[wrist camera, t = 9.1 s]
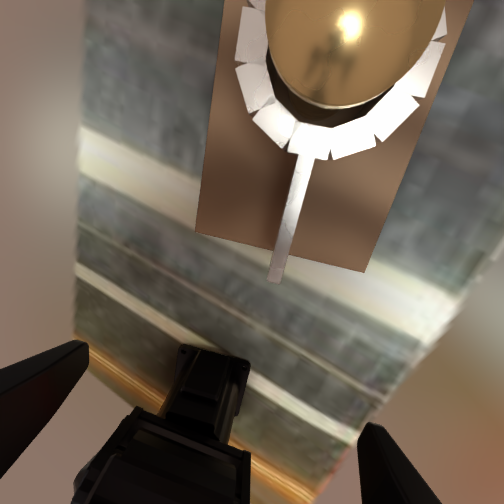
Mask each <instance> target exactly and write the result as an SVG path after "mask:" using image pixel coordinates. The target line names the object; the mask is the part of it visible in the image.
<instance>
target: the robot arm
mask: <svg viewBox="0 0 504 504" xmlns="http://www.w3.org/2000/svg"><path fill="white" fill-rule="evenodd" d="M184 350H185V351H184ZM88 365H89V345H88V343H86V342H83V341H80V340H72V341H70V342H67V343H65V344H62V345H60V346H57V347H55V348H52V349H50V350H47V351H45V352H42V353H40V354H37V355H35V356H32V357H30V358H27V359H25V360H22V361H20V362H17V363H15V364H12V365H10V366H7V367H5V368H2V369H0V479H1V478H2V477H3V475H4V474H5V473H6V472H7V470H8V469H9V468H10V467H11V466H12V465H13V463H14V462H15V461H16V460H17V459H18V458H19V456H20V455H21V454H22V453H23V452H24V450H25V449H26V448H27V447H28V446H29V444H30V443H31V442H32V441H33V440H34V439H35V437H36V436H37V435H38V434H39V432H40V431H41V430H42V429H43V428H44V427H45V425H46V424H47V423H48V422H49V421H50V419H51V418H52V417H53V416H54V414H55V413H56V412H57V410H58V409H59V407H60V406H61V405H62V403H63V402H64V400H65V399H66V398H67V396H68V395H69V393H70V392H71V390H72V389H73V388H74V386H75V385H76V383H77V382H78V381H79V379H80V378H81V376H82V375H83V373H84V372H85V371H86V369H87V367H88ZM243 366H245V367H246V368H245V367H243ZM250 367H251V365H250V363H249V362H248V361H245V360H241V359H237V358H234V357H230V356H226V355H223V354H219V353H215V352H212V351H208V350H204V349H201V348H197V347H193V346H190V345H186V344H183V345H181V346H180V348H179V349H178V355H177V363H176V371H175V379H174V384H173V386H172V388H171V390H170V392H169V394H168V395H167V397H166V399H165V401H164V403H163V405H162V407H161V409H160V411H159V413H158V414H157V415H154V414H152V413H149V412H147V411H144V410H143V408H141V407H139V406H136V407H135V408H134V410H133V411H132V412H131V414H130V415H127V416H126V417H125V419H123V420H122V421H121V423H120V424H119V426H118V428H117V429H116V430H115V432H114V433H113V434H112V435H111V437H110V438H109V439H108V441H107V442H106V443H105V445H104V446H103V447H102V449H101V450H100V451H99V452H98V453H97V454H96V455H95V456H94V457H93V458H92V459H91V460H90V461H89V462H88V463H87V464H86V465H85V466H84V467H83V468H82V469H81V470H80V472H79V473H78V474H77V476H76V478H75V480H74V483H73V485H74V496H73V498H72V501H71V504H250V473H251V452H249V451H246V450H243V451H242V450H240V449H237V448H235V447H232V446H230V445H228V441H229V437H230V433H231V428H232V424H233V419H234V417H235V416H237V415H238V414H239V410H240V406H241V402H242V398H243V395H244V391H245V387H246V383H247V379H248V376H249V372H250ZM357 452H358V463H359V475H360V485H361V497H362V504H442V503H441V502H440V500H439V499H438V498H437V496H436V495H435V494H434V492H433V491H432V490H431V488H430V487H429V486H428V484H427V483H426V482H425V481H424V479H423V478H422V477H421V475H420V474H419V473H418V471H417V470H416V469H415V468H414V466H413V465H412V463H411V462H410V461H409V459H408V458H407V457H406V456H405V454H404V453H403V452H402V450H401V449H400V448H399V446H398V445H397V444H396V442H395V441H394V440H393V439H392V437H391V436H390V435H389V433H388V432H387V430H386V429H385V428H384V427H383V426H382V425H379V424H376V423H372V422H368V423H367V424H366V425H365V427H364V429H363V431H362V433H361V434H360V436H359V438H358V442H357Z"/></svg>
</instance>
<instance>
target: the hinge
mask: <svg viewBox="0 0 504 504" xmlns="http://www.w3.org/2000/svg"><path fill="white" fill-rule="evenodd" d="M247 3H248V7H244V6H243V7H242V14H241V21H240V27H239V34H238V41H237V47H236V54H235V62H236V64H237V65H238V67H237V68H235V70H236V73H237V76H238V80H239V83H240V87H241V90H242V93H243V97H244V100H245V103H246V107H247V110H248V113H249V115H250V116H251V117H252V118H253V119H252V120H253V121H254V122H255V123H256V124H257V125H258V126H259V127H260V128H261V129H262V130H263V131H264V132H265V133H266V134H267V135H268V136H269V137H270V138H271V139H272V140H273V141H274V142H275V143H276V144H277V145H278V146H279V147H280V148H281V149H282V150H283V151H284V152H285V151H286V150H287V148H288V151H287V152H288V154H292V155H296V160H295V164H294V168H293V172H292V176H291V180H290V184H289V188H288V192H287V196H286V200H285V204H284V208H283V212H282V216H281V220H280V224H279V228H278V232H277V236H276V240H275V244H274V248H273V252H272V257H271V262H270V267H269V272H268V277H267V281H268V282H272V283H276V284H280V283H281V279H282V275H283V272H284V268H285V264H286V261H287V257H288V254H289V250H290V246H291V243H292V239H293V235H294V232H295V228H296V225H297V221H298V217H299V214H300V210H301V206H302V203H303V199H304V196H305V192H306V188H307V185H308V181H309V177H310V174H311V170H312V167H313V163H314V160H334V159H337V158H340V157H343V156H346V155H350V154H353V153H356V152H359V151H362V150H365V149H368V148H371V147H374V146H376V144H375V143H379V142H383V141H384V140H385V139H386V138H387V137H388V136H389V135H390V134H391V133H392V132H393V131H394V130H395V129H396V128H397V127H398V126H399V125H400V124H401V123H402V122H403V121H404V120H405V119H406V118H407V117H408V116H409V115H410V114H411V113H412V112H413V111H414V110H415V109H416V108H417V107H418V106H419V104H418V103H417V102H416V101H419V100H421V99H423V98H425V95H426V93H427V90H428V87H429V85H430V82H431V80H432V77H433V75H434V72H435V70H436V67H437V64H438V62H439V59H440V57H441V54H442V52H443V49H444V46H445V43H440V42H438V41H439V40H440V39H442V38H443V37H444V36H445V35H447V27H446V16H445V6H444V10H443V13H442V16H441V19H440V22H439V24H438V27H437V29H436V32H435V34H434V36H433V38H432V39H431V41H430V43H429V45H428V47H427V48H426V50H425V51H424V53H423V54H422V56H421V57H420V59H419V60H418V61H417V62H416V64H415V65H414V66H413V67H412V68H411V69H410V70H409V71H408V72H407V73H406V74H405V75H404V76H403V77H402V78H401V79H400V80H399V81H398V82H396V83H395V84H394V85H393V86H391V87H390V88H388V89H387V90H386V91H384V92H383V93H381V94H380V95H378V96H377V97H375V98H374V99H372V100H370V101H367V102H365V103H363V105H362V109H361V110H360V111H359V113H358V114H357V115H356V116H355V117H354V118H353V119H352V120H351V121H350V122H348V123H345V124H343V125H340V126H337V127H334V128H326V127H321V126H317V125H312V124H307V123H302V122H299V121H298V120H297V119H296V118H295V117H294V116H293V115H292V114H291V113H290V112H289V111H288V110H287V109H286V108H285V107H284V106H283V105H282V104H281V103H280V102H279V101H278V100H277V99H276V98H275V95H274V87H275V82H276V77H277V70H276V68H275V66H274V63H273V60H272V57H271V53H270V49H269V44H268V39H267V34H266V25H265V3H266V0H247Z"/></svg>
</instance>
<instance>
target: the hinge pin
mask: <svg viewBox="0 0 504 504" xmlns="http://www.w3.org/2000/svg"><path fill="white" fill-rule="evenodd" d="M445 2H446V0H266V3H265V25H266V34H267V39H268V44H269V49H270V53H271V57H272V60H273V63H274V66H275V68H276V70H277V72H278V74H279V76H280V78H281V79H282V81H283V82H284V83H285V85H286V86H287V87H288V95H289V99H290V102H291V104H292V106H293V108H294V109H295V111H296V112H297V113H298V114H299V115H301V116H302V117H304V118H306V119H308V120H313V121H321V120H325V119H328V118H330V117H332V116H334V115H336V114H337V113H338V112H339V111H340V110H341V109H344V108H350V107H354V106H357V105H360V104H363V103H365V102H367V101H370V100H372V99H374V98H375V97H377V96H378V95H380V94H381V93H383V92H384V91H386V90H387V89H388V88H390V87H391V86H393V85H394V84H395V83H396V82H398V81H399V80H400V79H401V78H402V77H403V76H404V75H405V74H406V73H407V72H408V71H409V70H410V69H411V68H412V67H413V66H414V65H415V64H416V62H417V61H418V60H419V59H420V57H421V56H422V54H423V53H424V51H425V50H426V48H427V47H428V45H429V43H430V41H431V39H432V38H433V36H434V34H435V32H436V29H437V27H438V24H439V22H440V19H441V16H442V13H443V10H444V6H445Z"/></svg>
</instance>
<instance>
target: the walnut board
mask: <svg viewBox="0 0 504 504" xmlns="http://www.w3.org/2000/svg"><path fill="white" fill-rule="evenodd" d="M473 2H474V0H446V2H445V16H446V27H447V35H445V36H444V37H443V38H442V39H440V40H439V41H438V42H440V43H445V46H444V49H443V52H442V54H441V57H440V59H439V62H438V64H437V67H436V70H435V72H434V75H433V77H432V80H431V82H430V85H429V87H428V90H427V93H426V95H425V98H423V99H421V100H419V101H416V102H417V103H418V104H419V106H418V107H417V108H416V109H415V110H414V111H413V112H412V113H411V114H410V115H409V116H408V117H407V118H406V119H405V120H404V121H403V122H402V123H401V124H400V125H399V126H398V127H397V128H396V129H395V130H394V131H393V132H392V133H391V134H390V135H389V136H388V137H387V138H386V139H385V140H384V141H383V142H379V143H375V144H376V146H374V147H371V148H368V149H365V150H362V151H359V152H356V153H353V154H350V155H346V156H343V157H340V158H337V159H334V160H314V163H313V167H312V170H311V174H310V177H309V181H308V185H307V188H306V192H305V196H304V199H303V203H302V206H301V210H300V214H299V217H298V221H297V225H296V228H295V232H294V235H293V239H292V243H291V246H290V250H289V254H288V255H292V256H296V257H301V258H305V259H309V260H313V261H317V262H321V263H325V264H329V265H333V266H337V267H342V268H346V269H350V270H354V271H358V272H362V273H364V272H365V270H366V267H367V265H368V262H369V260H370V257H371V255H372V252H373V250H374V247H375V245H376V242H377V240H378V237H379V235H380V233H381V230H382V228H383V225H384V223H385V220H386V218H387V215H388V213H389V210H390V208H391V205H392V203H393V200H394V198H395V195H396V193H397V190H398V188H399V185H400V183H401V180H402V178H403V175H404V173H405V170H406V168H407V165H408V163H409V161H410V158H411V156H412V153H413V151H414V148H415V146H416V143H417V141H418V138H419V136H420V133H421V131H422V128H423V126H424V123H425V121H426V118H427V116H428V113H429V111H430V108H431V106H432V103H433V101H434V98H435V96H436V94H437V91H438V89H439V86H440V84H441V81H442V79H443V76H444V74H445V71H446V69H447V66H448V64H449V61H450V59H451V56H452V54H453V51H454V49H455V46H456V44H457V41H458V39H459V36H460V34H461V31H462V29H463V26H464V24H465V22H466V19H467V17H468V14H469V12H470V9H471V7H472V4H473ZM243 6H244V7H248V3H247V0H225V2H224V10H223V18H222V25H221V33H220V41H219V49H218V56H217V64H216V72H215V80H214V87H213V95H212V103H211V111H210V118H209V126H208V134H207V141H206V149H205V157H204V165H203V172H202V180H201V188H200V196H199V203H198V211H197V219H196V227H195V232H198V233H202V234H206V235H210V236H214V237H219V238H223V239H227V240H231V241H235V242H239V243H243V244H247V245H251V246H255V247H260V248H264V249H268V250H272V251H273V248H274V244H275V240H276V236H277V232H278V228H279V224H280V220H281V216H282V212H283V208H284V204H285V200H286V196H287V192H288V188H289V184H290V180H291V176H292V172H293V168H294V164H295V160H296V155H292V154H288V152H287V151H288V148H287V150H286V151H285V152H284V151H283V150H282V149H281V148H280V147H279V146H278V145H277V144H276V143H275V142H274V141H273V140H272V139H271V138H270V137H269V136H268V135H267V134H266V133H265V132H264V131H263V130H262V129H261V128H260V127H259V126H258V125H257V124H256V123H255V122H254V121H253V120H252V119H253V118H252V117H251V116H250V115H249V113H248V110H247V107H246V103H245V100H244V97H243V93H242V90H241V87H240V83H239V80H238V76H237V73H236V70H235V68H237V67H238V65H237V64H236V62H235V54H236V47H237V41H238V34H239V27H240V21H241V14H242V7H243ZM274 95H275V98H276V99H277V100H278V101H279V102H280V103H281V104H282V105H283V106H284V107H285V108H286V109H287V110H288V111H289V112H290V113H291V114H292V115H293V116H294V117H295V118H296V119H297V120H298V121H299V122H302V123H307V124H312V125H317V126H321V127H326V128H334V127H337V126H340V125H343V124H345V123H348V122H350V121H351V120H352V119H353V118H354V117H355V116H356V115H357V114H358V113H359V111H360V110H361V109H362V105H363V104H360V105H357V106H354V107H350V108H344V109H341V110H340V111H339V112H338V113H337V114H336V115H334V116H332V117H330V118H328V119H325V120H321V121H313V120H308V119H306V118H304V117H302V116H301V115H299V114H298V113H297V112H296V111H295V109H294V108H293V106H292V104H291V102H290V99H289V95H288V87H287V86H286V85H285V83H284V82H283V81H282V79H281V78H280V76H279V74H278V72H277V77H276V82H275V87H274Z"/></svg>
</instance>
